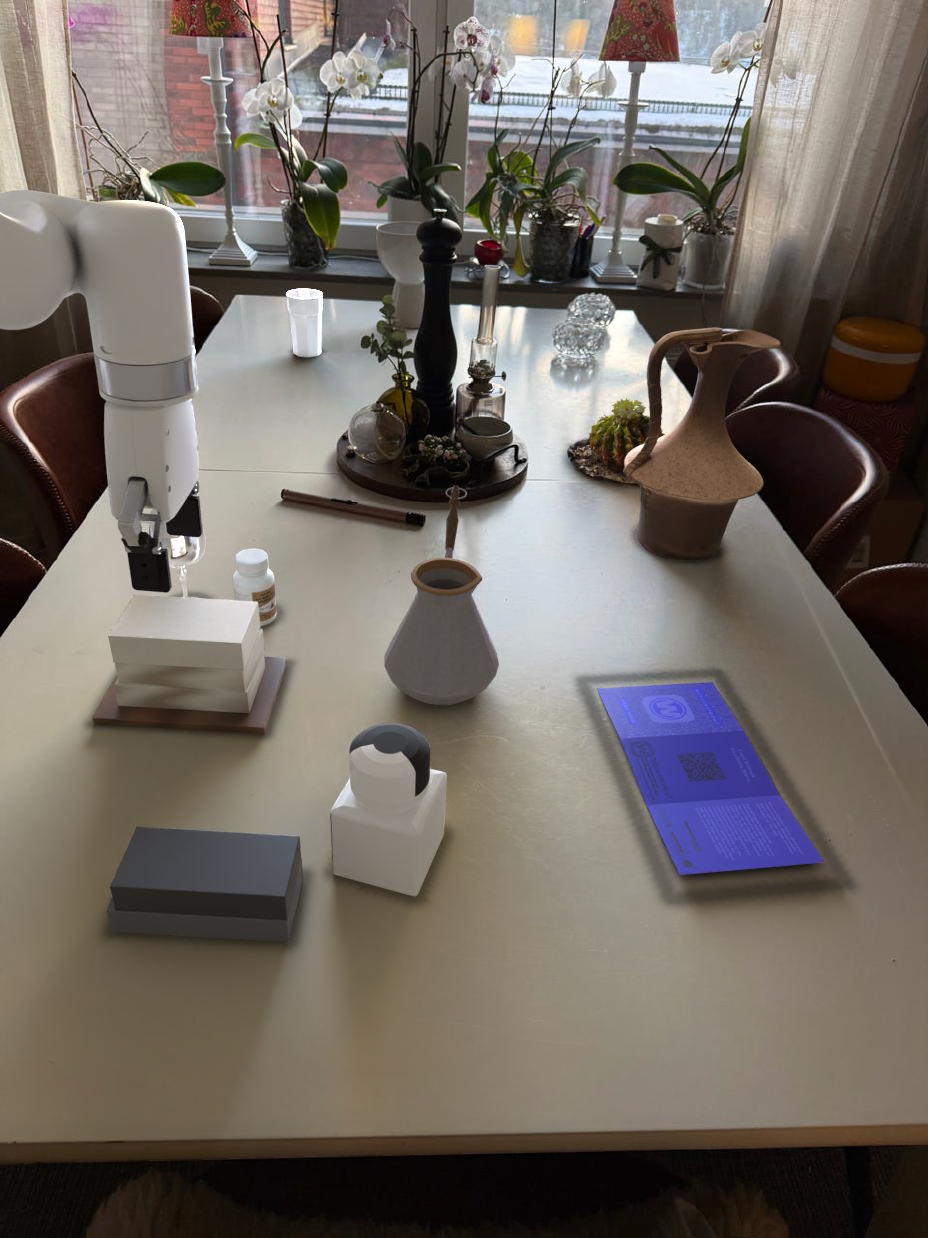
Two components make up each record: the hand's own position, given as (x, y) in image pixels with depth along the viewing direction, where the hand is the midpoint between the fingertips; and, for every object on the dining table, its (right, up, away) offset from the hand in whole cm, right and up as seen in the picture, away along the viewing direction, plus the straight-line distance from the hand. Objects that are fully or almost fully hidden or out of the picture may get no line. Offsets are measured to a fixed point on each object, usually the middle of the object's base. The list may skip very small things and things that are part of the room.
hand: (169, 560), depth 83 cm
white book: (0, -8, +5) cm, 9 cm away
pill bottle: (+3, -5, +20) cm, 21 cm away
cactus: (+50, +18, +59) cm, 80 cm away
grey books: (+7, -27, -12) cm, 30 cm away
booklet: (+48, -19, +3) cm, 51 cm away
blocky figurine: (+20, -24, -7) cm, 33 cm away
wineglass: (-5, -4, +21) cm, 22 cm away
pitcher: (+54, +5, +39) cm, 67 cm away
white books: (0, -13, +9) cm, 15 cm away
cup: (-4, +45, +95) cm, 105 cm away
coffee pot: (+24, -9, +16) cm, 30 cm away
